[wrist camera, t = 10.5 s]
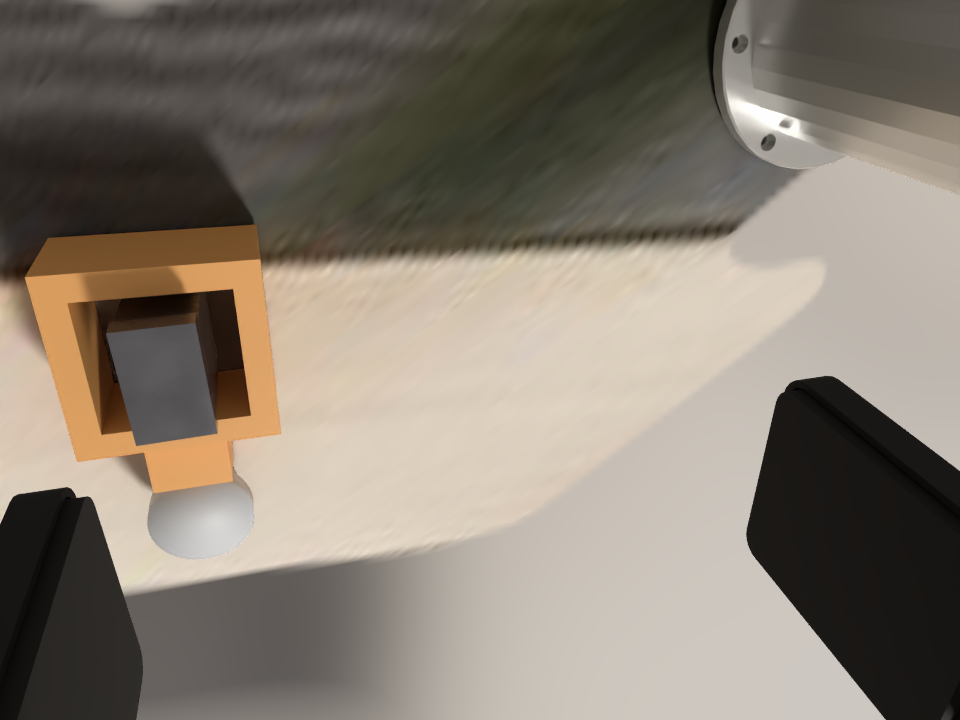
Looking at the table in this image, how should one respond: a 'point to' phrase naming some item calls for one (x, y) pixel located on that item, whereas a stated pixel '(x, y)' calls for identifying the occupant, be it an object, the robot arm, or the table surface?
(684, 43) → the table surface
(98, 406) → the orange handled frame
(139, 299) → the grey rectangular block
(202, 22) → the table surface
